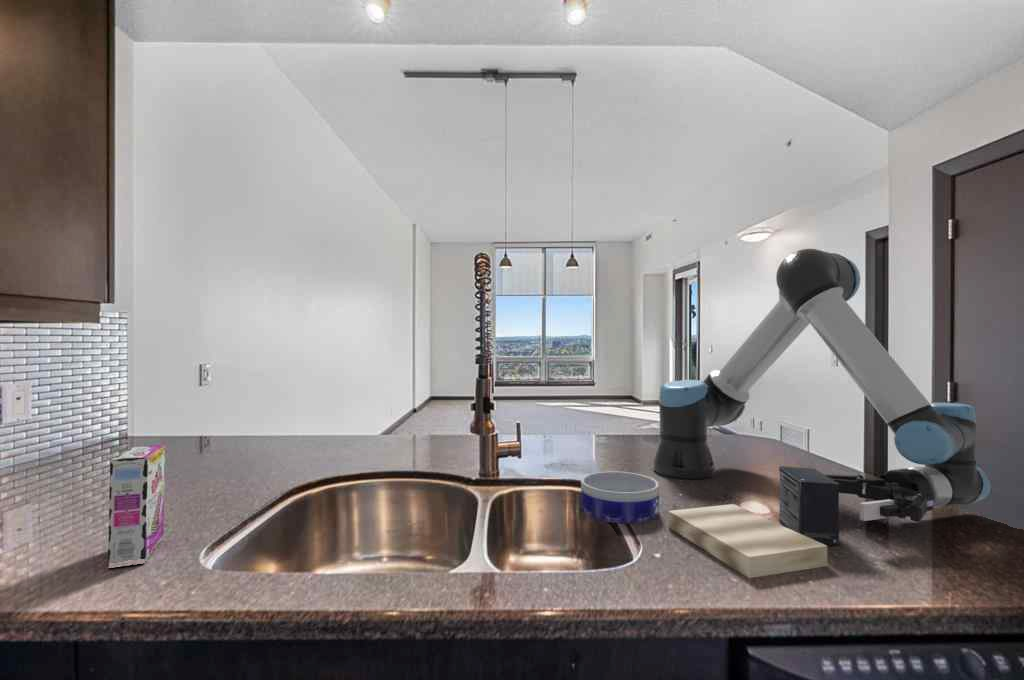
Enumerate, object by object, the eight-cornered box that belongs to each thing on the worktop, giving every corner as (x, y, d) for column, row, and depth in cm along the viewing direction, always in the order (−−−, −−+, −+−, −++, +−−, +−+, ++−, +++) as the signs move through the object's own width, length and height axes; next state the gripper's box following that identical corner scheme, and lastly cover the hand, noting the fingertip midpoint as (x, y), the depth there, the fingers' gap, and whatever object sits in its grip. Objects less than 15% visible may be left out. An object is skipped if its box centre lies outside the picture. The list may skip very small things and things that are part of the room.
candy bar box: (147, 564, 75) (147, 457, 75) (106, 571, 73) (107, 460, 73) (166, 538, 85) (166, 443, 85) (130, 542, 83) (131, 446, 83)
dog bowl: (657, 529, 89) (657, 495, 89) (574, 519, 93) (574, 488, 94) (660, 503, 103) (660, 474, 103) (588, 496, 108) (588, 468, 108)
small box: (842, 547, 80) (841, 482, 80) (798, 544, 81) (798, 480, 81) (816, 523, 90) (815, 466, 90) (777, 521, 92) (777, 465, 92)
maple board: (668, 527, 89) (668, 511, 89) (733, 519, 92) (733, 503, 92) (749, 578, 69) (749, 557, 69) (827, 566, 73) (827, 545, 73)
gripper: (994, 533, 80) (898, 549, 74) (851, 489, 104) (769, 499, 98) (994, 487, 80) (897, 499, 74) (850, 454, 104) (769, 461, 98)
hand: (824, 499), depth 86 cm, fingers open, 13 cm apart
